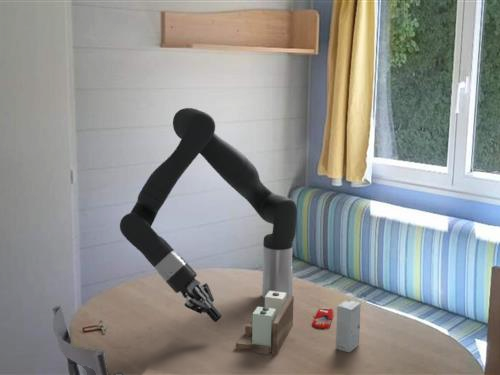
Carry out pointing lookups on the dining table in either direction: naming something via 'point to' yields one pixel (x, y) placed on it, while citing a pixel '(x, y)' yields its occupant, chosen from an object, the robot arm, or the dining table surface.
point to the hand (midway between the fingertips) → (218, 319)
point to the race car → (323, 318)
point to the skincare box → (348, 325)
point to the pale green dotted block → (263, 326)
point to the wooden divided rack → (280, 331)
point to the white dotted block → (275, 300)
